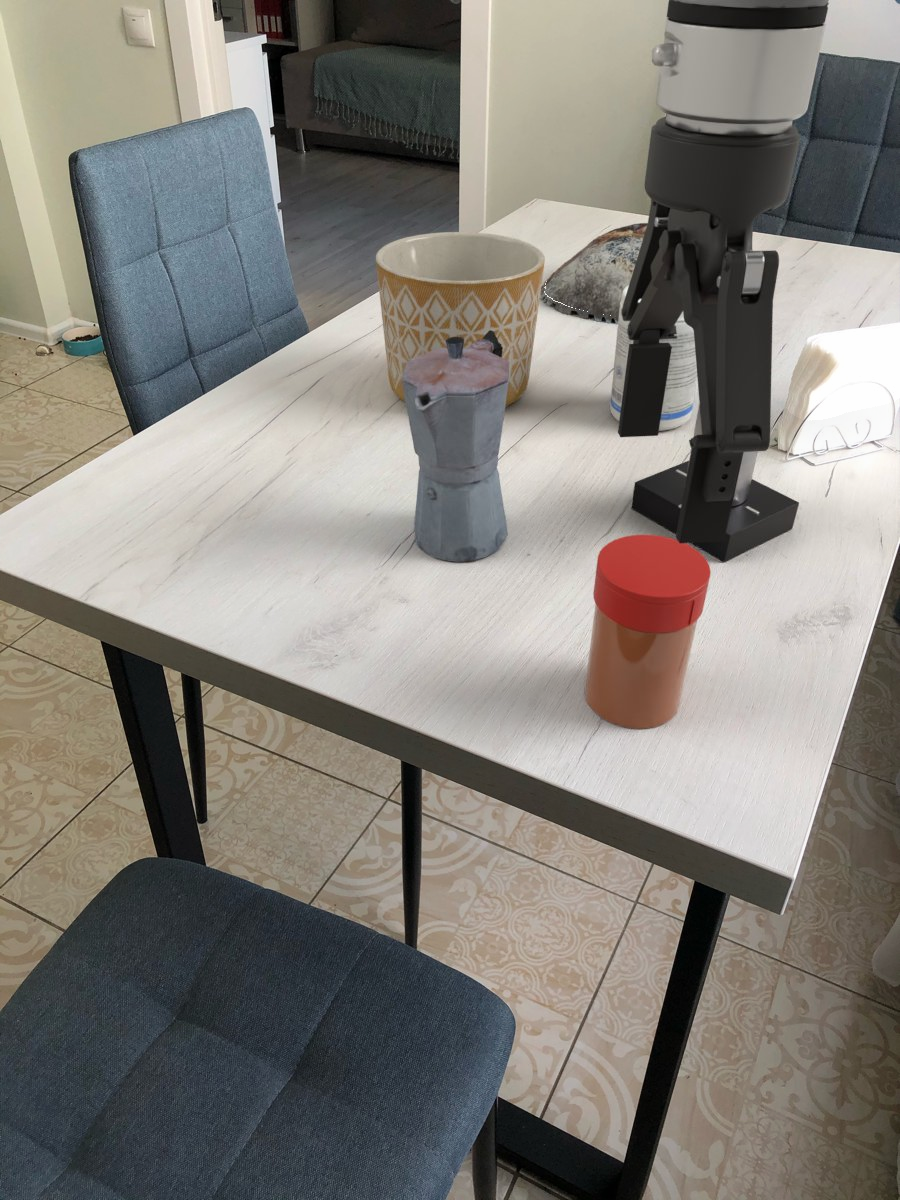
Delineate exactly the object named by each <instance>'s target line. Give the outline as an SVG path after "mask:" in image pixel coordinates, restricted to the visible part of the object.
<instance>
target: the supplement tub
mask: <svg viewBox="0 0 900 1200" xmlns="http://www.w3.org/2000/svg"><path fill="white" fill-rule="evenodd" d="M628 287H629V286H627V287H626V288H624V290H623V293H622V300H621V302H620V309H619V319H618V324H617V328H616V329H617V330H616V341H615V349H614V351H615V352H614V359H613V360H614V362H613V372H612V383H611V394H610V402H609V403H610V405H609V409H610V413H611V415H612V417H613V418H614V419H615V420H616V421H618V422H619V420H620V412H621V404H622V396H623V389H624V381H625V373H626V365H627V358H628V350H629V344H633V340H629V337H628V334H627V329H628V324H629V323H630V321H623V318H622V314H621V310H622V307H623V303H624V300H625V297H626V294H627V290H628ZM640 301H641V299H639V301H638V302H640ZM675 325H676V331H677V334H674V335H675V336H677V339H660V340H659V343H669V344H670V345H671V346H672V350H671V356H670V363H669V369H668V375H667V382H666V388H665V394H664V401H663V407H662V413H661V420H660V426H659V432H660V431H661V432H662V431H670V430H674V429H676V428H677V429H678V428H679V427H682V426H683V425H684V424H686V423H688V421H689V420H690V418H691V416H692V411H693V407H694V401H695V393H696V388H697V382H698V378H697V365H696V353H695V340H694V330H693V328H692V327H690V326H689V325H687V324H686V323H685V321H684V314H683V312H682V313H681V315H680V317H679V318H678V320H677V322H676V323H675Z"/></svg>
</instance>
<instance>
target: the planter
mask: <svg viewBox="0 0 900 1200" xmlns="http://www.w3.org/2000/svg"><path fill="white" fill-rule="evenodd" d="M545 263H546V258H545V255H544V253H543V252H542V251H541V249H539V248H538V247H536V246H535V245H533V244H531V243H529V242H527V241H524V240H521V239H518V238H515V237H510V236H505V235H499V234H492V233H486V232H485V233H484V232H472V231H471V232H470V231H448V232H447V231H444V232H443V231H441V232H431V233H430V232H429V233H422V234H416V235H410V236H406V237H402V238H399V239H397V240H394V241H392V242H389V243H387V244H385V245H383V246H381V248H380V249H379V250H378V251H377V253H376V254H375V265H376V273H377V274H376V275H377V283H378V291H379V292H378V293H379V301H380V310H381V311H380V312H381V320H382V329H383V338H384V346H385V356H386V365H387V374H388V381H389V385H390V388H391V390H392V391H393V393H394V394H395V396H397V398H399V400H401V401H402V402H404V403H405V404H406V402H405V396H404V391H403V386H402V376H403V373H404V370H405V366H406V362H407V361H408V360H409V359H411V358H414V357H417V356H420V355H422V354H425V353H428V352H430V351H433V350H435V349H439V348H447V346H446V340H447V339H448V338H450V337H462V338H463V339H464V345H463V348H468V347H470V345H471V344H472V343H474V342H475V341H476V340H482V339H483V337H484V336H485V334H487V333H488V331H489V330H491V331H494V332H495V336H496V337H497V339H498V342H499V343H500V344H501V345H502V347H503V352H502V358H504V359H506V360H508V361H509V384H508V390H507V397H506V405H505V408H507V407H508V406H510V405H512V404H514V403H515V402H517V400H519V399H520V398H521V397H522V395H523V394H524V393H525V391H526V390H527V387H528V385H529V380H530V375H531V373H530V372H531V366H532V359H533V358H532V357H533V351H534V344H535V343H534V342H535V335H536V329H537V321H538V314H539V306H540V300H541V299H540V298H541V293H542V292H541V287H542V286H543V277H544V269H545ZM540 292H541V293H540Z"/></svg>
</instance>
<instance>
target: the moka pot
mask: <svg viewBox="0 0 900 1200" xmlns="http://www.w3.org/2000/svg"><path fill="white" fill-rule="evenodd" d="M463 345H464V339H463V338H462V337H450V338H448V339H447V340H446V346H447V348H439V349H435V350H433V351H430V352H428V353H425V354H422V355H420V356H417V357H414V358H411V359H409V360H408V361H407V362H406V366H405V370H404V373H403V376H402V386H403V391H404V396H405V402H406V403H405V402H404V403H405V408H406V412H407V417H408V422H409V429H410V433H411V438H412V439H411V440H412V445H413V450H414V453H415V455H417V456H418V457H417V458H418V467H419V470H418V478H417V490H416V501H415V511H414V522H413V523H414V524H413V534H414V540H415V542H416V544H417V547H418V548H419V549H420V550H422V551H423V552H424V553H426V555H429V556H431V557H433V558H435V559H438V560H442V561H447V562H457V563H458V562H472V561H473V562H474V561H476V560H480V559H484V558H486V557H489V556H491V555H492V554H495V553H496V552H497V551H499V549H500V548H502V546H503V544H504V543H505V542H506V541H507V537H508V535H509V533H508V523H507V519H506V513H505V506H504V500H503V499H504V498H503V494H502V487H501V481H500V480H501V478H500V473H499V469H498V465H499V453H500V447H501V442H502V441H501V440H502V433H503V426H504V419H505V413H506V412H505V411H506V407H505V405H506V397H507V390H508V384H509V361H508V360H506V359H504V358H502V352H503V347H502V345H501V344H500V343H499V342H498V339H497V337H496V336H495V332H494V331H491V330H489V331H488V333H487V334H485V336H484V337H483V339H482V340H476V341H475V342H474V343H472V344H471V345H470V347H468V348H463Z"/></svg>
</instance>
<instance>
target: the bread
mask: <svg viewBox="0 0 900 1200" xmlns="http://www.w3.org/2000/svg"><path fill="white" fill-rule="evenodd" d="M647 224H648V222H640V223H634V224H629V225H625V226H620V227H618V228H617V227H616V228H614V229H612V230H609V231H607V232H605V233H603V234H601V235H599V236H596V237H595V238H594V239H592V241H590V242H589V243H588V244H587V245H586V246H584V247H583V248H581V250H579V251H578V252H576V253H575V255H573V256H572V257H571V258H570V259H568V260H567V261H565V262H564V263H563V264H561V265H560V267H559V268H557V269H556V270H555V271H554V272H552V273H551V275H550V276H549V277H548V278H547V279H546V280H545V281H544V283H543V284H542V285H541V292H540V299H539V300H542V299H543V298H544V299H543V301H542V302H543V303H546V304H547V305H548V306H550V305H552V304H554V305H555V307H554V310H556V312H559V313H561V314H564V315H568V316H571V315H572V311H573V312H575V313H576V314H577V315H578V316H579V318H581V319H586V320H588V318H589V315H591V316H593V319H594V321H595V322H602V319H603V318H604V319H605V323H606V324H611V323H612V319H613V320H614V322H615V324H616V325H618V319H619V309H620V302H621V300H622V293H623V290H624V288H626V287H627V286H629V284H630V280H631V277H632V274H633V270H634V267H635V264H636V261H637V257H638V254H639V251H640V247H641V244H642V241H643V238H644V234H645V231H646V228H647ZM546 281H547V282H546ZM545 283H546V285H545ZM545 286H546V289H545V288H544V287H545ZM544 291H545V293H546V294H547V295H548V296H549V297H551V298H553V300H555V301H558V302H561V303H563V304H565V305H567V306H565V305H563V304H561V303H558V302H555V301H553V300H552V299H551V298H549V297H547V295H545V293H544ZM546 300H547V301H546ZM568 306H570V307H568ZM571 307H573V308H571ZM575 308H576V309H575ZM579 309H580V310H579ZM583 310H584V311H583ZM587 311H588V312H587ZM603 314H604V315H603ZM610 315H611V316H610Z"/></svg>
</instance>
